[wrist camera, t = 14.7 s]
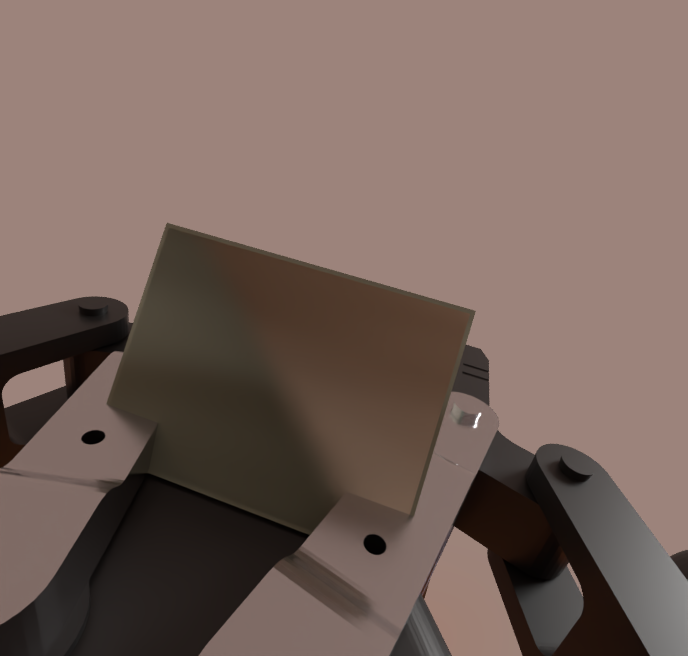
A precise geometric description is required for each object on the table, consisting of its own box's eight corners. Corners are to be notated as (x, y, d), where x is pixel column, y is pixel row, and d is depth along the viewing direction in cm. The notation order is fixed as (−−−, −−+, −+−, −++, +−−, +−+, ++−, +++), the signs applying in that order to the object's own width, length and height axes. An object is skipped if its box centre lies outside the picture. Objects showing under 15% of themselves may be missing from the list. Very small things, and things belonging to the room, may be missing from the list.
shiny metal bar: (398, 569, 5) (476, 310, 5) (90, 451, 6) (166, 223, 6) (406, 406, 29) (420, 359, 29) (344, 386, 30) (359, 340, 30)
